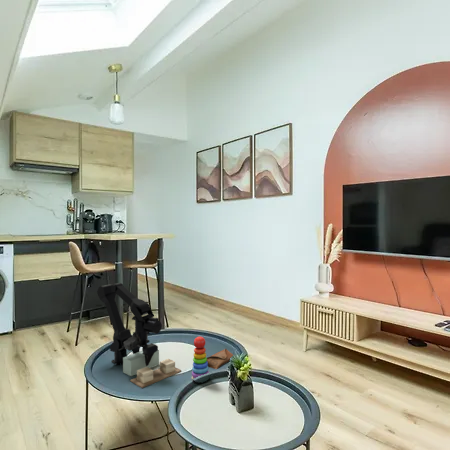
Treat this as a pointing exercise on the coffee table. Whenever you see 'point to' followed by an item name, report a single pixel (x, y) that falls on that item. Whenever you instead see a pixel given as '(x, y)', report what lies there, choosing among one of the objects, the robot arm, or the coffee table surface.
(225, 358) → the sunglasses case
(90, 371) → the coffee table surface
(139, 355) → the lintel
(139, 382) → the bridge base
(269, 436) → the coffee table surface
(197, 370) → the stacking toy
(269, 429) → the coffee table surface
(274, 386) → the coffee table surface
